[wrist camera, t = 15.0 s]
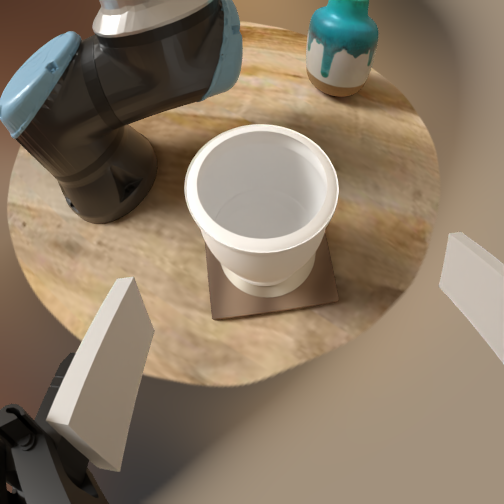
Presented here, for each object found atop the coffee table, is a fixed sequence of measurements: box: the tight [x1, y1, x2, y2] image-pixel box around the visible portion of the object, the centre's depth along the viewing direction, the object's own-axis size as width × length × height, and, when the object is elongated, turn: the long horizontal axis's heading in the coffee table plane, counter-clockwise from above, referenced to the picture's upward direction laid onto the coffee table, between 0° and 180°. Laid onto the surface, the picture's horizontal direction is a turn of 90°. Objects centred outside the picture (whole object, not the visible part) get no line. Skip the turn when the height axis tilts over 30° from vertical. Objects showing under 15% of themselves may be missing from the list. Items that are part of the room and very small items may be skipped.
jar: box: [184, 124, 339, 286], centre depth 26 cm, size 11×10×15 cm
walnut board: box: [205, 233, 339, 320], centre depth 34 cm, size 14×14×1 cm
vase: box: [306, 0, 378, 97], centre depth 35 cm, size 11×11×19 cm
